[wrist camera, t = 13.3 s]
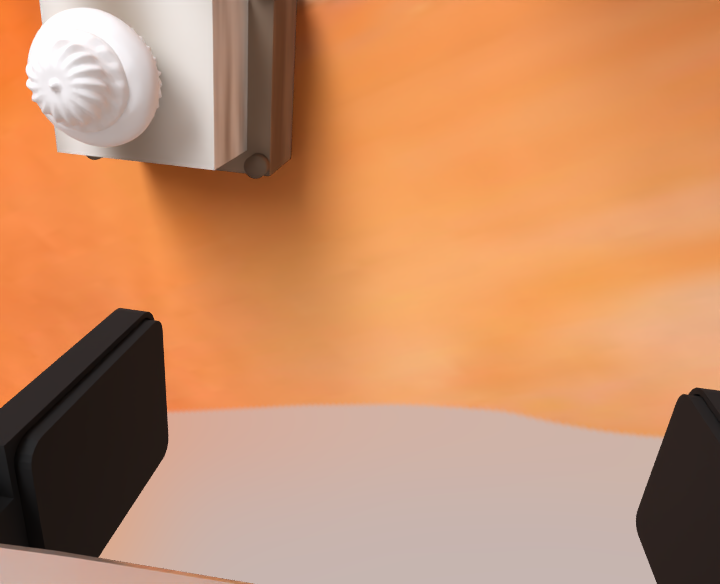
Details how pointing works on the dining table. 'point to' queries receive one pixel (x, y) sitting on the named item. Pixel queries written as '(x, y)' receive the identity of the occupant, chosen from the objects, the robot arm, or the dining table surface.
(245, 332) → the dining table surface
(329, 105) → the dining table surface
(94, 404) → the robot arm
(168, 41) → the knobbed square box
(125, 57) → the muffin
